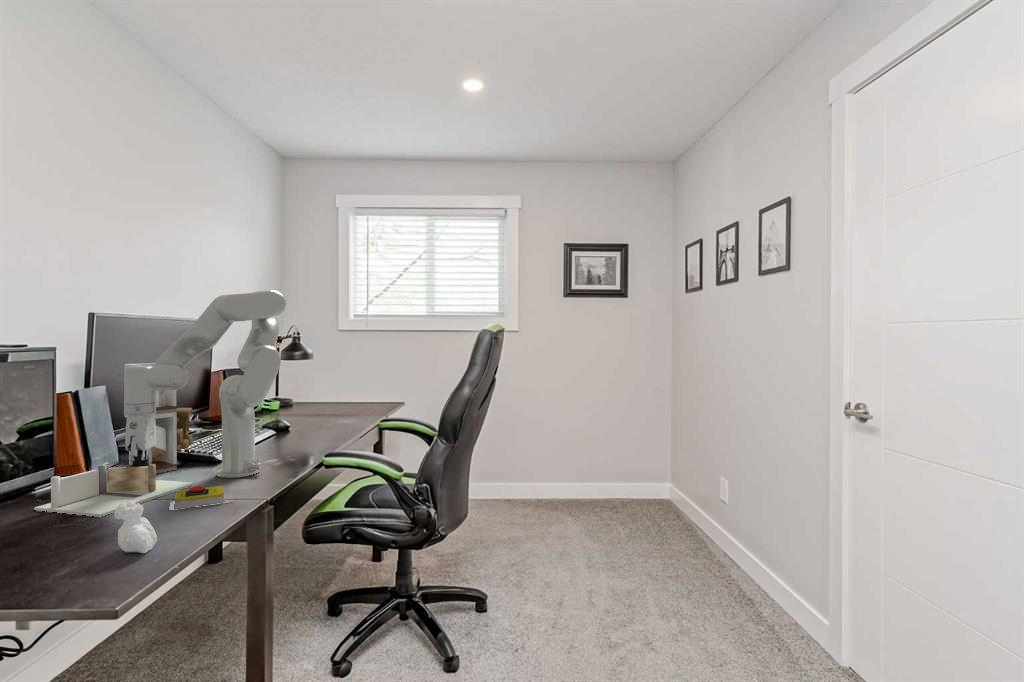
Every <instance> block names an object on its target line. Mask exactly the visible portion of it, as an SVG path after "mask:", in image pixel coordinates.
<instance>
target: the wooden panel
mask: <svg viewBox="0 0 1024 682" xmlns="http://www.w3.org/2000/svg"><path fill="white" fill-rule="evenodd" d="M156 475H157V474H156V464H151V465H148V466H146V467H125V466H123V467H119V466H118V467H108V468H107V493H109V492H134V491H154V490H156V480H157V479H156V478H157V477H156Z"/></svg>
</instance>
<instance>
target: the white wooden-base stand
mask: <svg viewBox="0 0 1024 682" xmlns="http://www.w3.org/2000/svg"><path fill="white" fill-rule="evenodd" d="M155 363H156V362H149V363H147V362H146V363H142V362H141V363H125V364H124V368H123V369H124V370H125V369H126V368H127V367H129V366H153V365H154V364H155ZM176 408H177V390H158V389H157V390H156V414H155V421H156V438H157V443H156V445H155V446H153V447H151V448H150V449H148V458H147V459H148V465H151V464H156V475H158V474H157V473H159V474H163V473H162V472H164V473H168V472H167V471H169V472H173V471H172V470H174V471H178V464H177V463H178V458H177V456H178V455H177V418H176ZM124 417H125V418H127V416H125V415H124ZM130 454H131V451H128V460H129V462H128V464H126V465H125V466H124V467H133V460H132V456H130Z"/></svg>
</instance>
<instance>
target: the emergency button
mask: <svg viewBox="0 0 1024 682" xmlns="http://www.w3.org/2000/svg"><path fill="white" fill-rule="evenodd" d="M224 487H225V486H224V485H216V486H208V487H206V486H202V485H201V486H200V485H199V486H191V487H189V489H182V490H179V491H176V492H175V497H174V500H175V504H174V509H181V508H188V507H195V506H203V505H210V504H217V503H223V502H225V499H224V494H225V489H224ZM181 510H182V509H181Z"/></svg>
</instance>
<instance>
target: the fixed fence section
mask: <svg viewBox="0 0 1024 682" xmlns="http://www.w3.org/2000/svg"><path fill="white" fill-rule="evenodd" d="M107 465H108V464H98V465H97V469H94V470H93V469H92V470H89V471H88V470H87V471H84V472H80V473H78V474H77V473H76V474H73V475H68V476H65V477H61V476H60V475H59V476H58V475H56V476H51V477H50V503H51V508H58V507H60V506H63V505H66V504H70V503H73V502H76V501H80V500H83V499H86V498H90V497H93V496H96V495H99V494H104V493H107V469H108V468H107V467H108V466H107Z"/></svg>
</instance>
